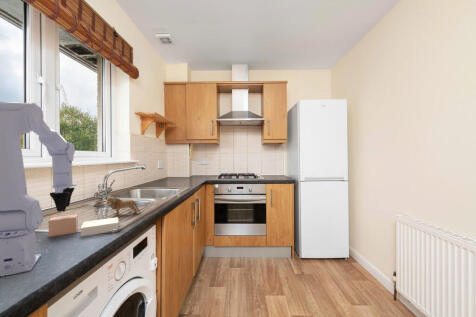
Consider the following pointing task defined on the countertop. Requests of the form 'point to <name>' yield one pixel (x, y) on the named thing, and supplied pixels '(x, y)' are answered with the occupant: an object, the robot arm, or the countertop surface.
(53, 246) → the countertop surface
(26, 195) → the robot arm
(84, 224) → the cream base brick
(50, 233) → the terracotta brick
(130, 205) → the lion figurine
